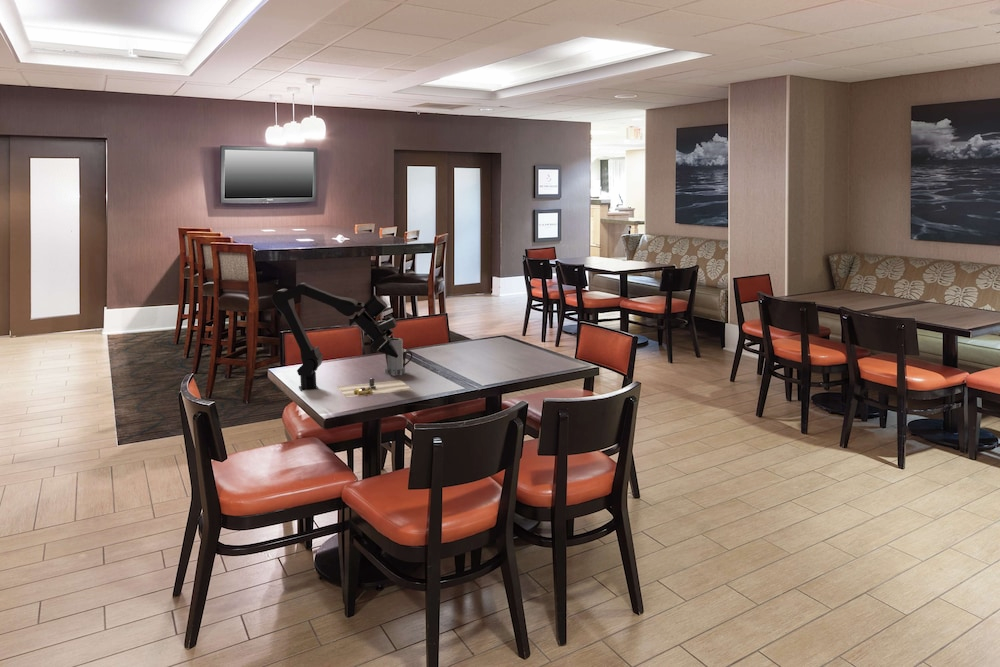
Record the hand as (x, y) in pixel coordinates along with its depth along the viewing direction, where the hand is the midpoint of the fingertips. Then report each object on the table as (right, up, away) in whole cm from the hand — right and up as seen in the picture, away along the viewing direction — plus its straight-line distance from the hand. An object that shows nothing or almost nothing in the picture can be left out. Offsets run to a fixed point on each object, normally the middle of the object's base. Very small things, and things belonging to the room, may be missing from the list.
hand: (398, 355), depth 280 cm
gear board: (-9, -13, +2) cm, 16 cm away
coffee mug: (-3, -9, +26) cm, 27 cm away
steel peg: (-10, -12, +3) cm, 16 cm away
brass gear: (-12, -14, -4) cm, 19 cm away
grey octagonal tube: (-1, -7, +1) cm, 7 cm away
